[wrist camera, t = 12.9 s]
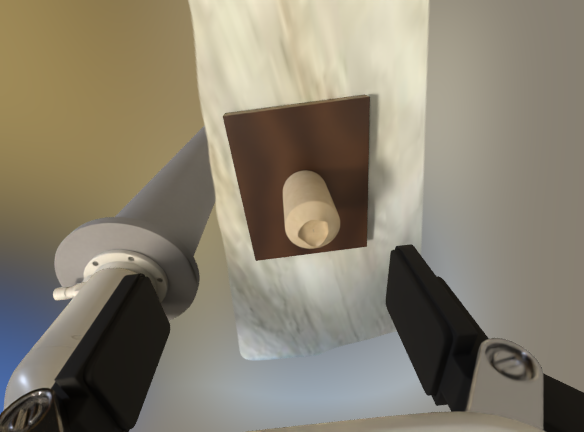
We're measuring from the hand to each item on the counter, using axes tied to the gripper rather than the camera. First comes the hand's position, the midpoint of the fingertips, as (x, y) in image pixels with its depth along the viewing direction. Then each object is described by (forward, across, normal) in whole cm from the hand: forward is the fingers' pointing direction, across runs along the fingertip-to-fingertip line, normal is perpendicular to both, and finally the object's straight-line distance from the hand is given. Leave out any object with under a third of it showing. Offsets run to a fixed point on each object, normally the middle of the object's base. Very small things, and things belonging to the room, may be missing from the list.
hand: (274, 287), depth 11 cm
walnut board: (+26, -3, +7) cm, 27 cm away
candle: (+24, -3, +7) cm, 25 cm away
